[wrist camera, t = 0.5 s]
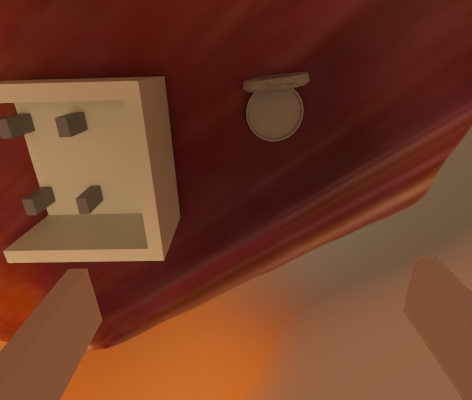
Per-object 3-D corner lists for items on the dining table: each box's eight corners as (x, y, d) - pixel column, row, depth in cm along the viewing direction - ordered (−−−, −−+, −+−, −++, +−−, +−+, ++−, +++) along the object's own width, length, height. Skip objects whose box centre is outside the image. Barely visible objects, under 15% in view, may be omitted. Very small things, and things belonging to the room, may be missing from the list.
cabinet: (164, 76, 35) (138, 80, 25) (180, 217, 42) (164, 260, 33) (16, 80, 35) (-63, 85, 26) (57, 219, 42) (7, 262, 33)
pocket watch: (269, 150, 38) (278, 177, 29) (224, 96, 35) (219, 108, 26) (324, 105, 36) (353, 120, 27) (280, 45, 33) (296, 38, 24)
